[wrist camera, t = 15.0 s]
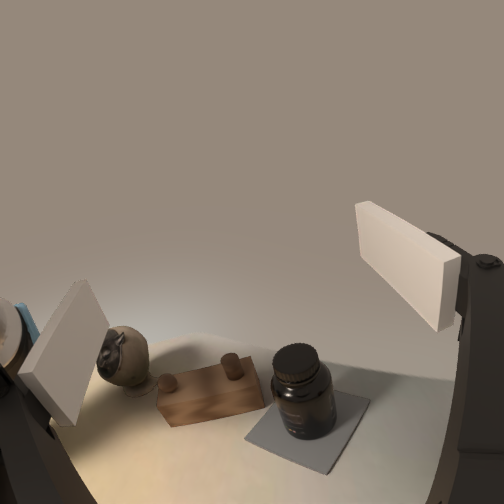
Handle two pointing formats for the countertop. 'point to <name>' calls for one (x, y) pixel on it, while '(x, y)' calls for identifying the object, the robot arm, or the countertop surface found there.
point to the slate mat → (313, 451)
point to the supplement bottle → (303, 392)
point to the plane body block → (210, 392)
